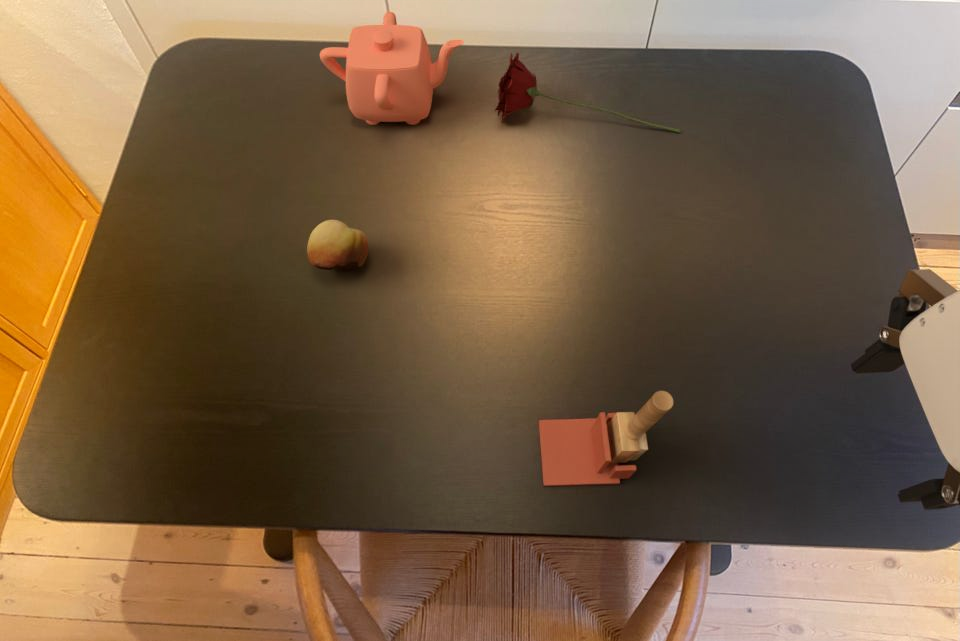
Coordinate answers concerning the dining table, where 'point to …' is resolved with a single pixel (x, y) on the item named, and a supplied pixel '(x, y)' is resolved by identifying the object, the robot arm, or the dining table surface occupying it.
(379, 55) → the teapot
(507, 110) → the flower
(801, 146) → the dining table surface
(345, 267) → the fruit
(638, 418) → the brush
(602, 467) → the brush stand
